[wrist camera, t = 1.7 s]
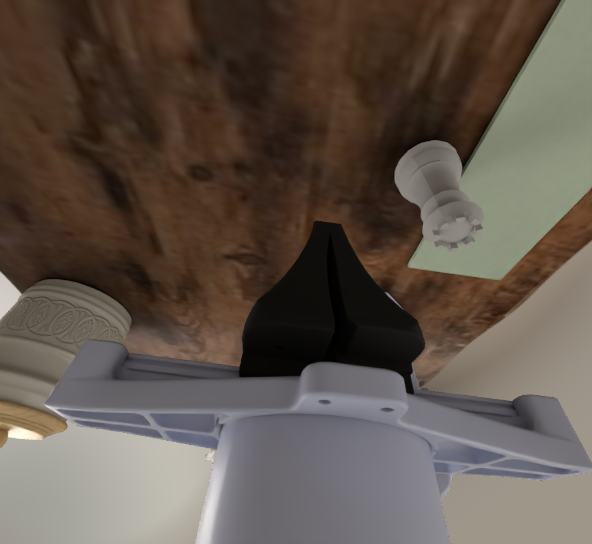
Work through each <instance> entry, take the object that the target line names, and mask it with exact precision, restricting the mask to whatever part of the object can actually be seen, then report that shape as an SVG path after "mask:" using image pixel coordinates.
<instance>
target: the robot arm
mask: <svg viewBox="0 0 592 544" xmlns="http://www.w3.org/2000/svg"><path fill="white" fill-rule="evenodd" d="M242 341H243V355H242V359H241V364H240V367H237V366H229V365H221V364H213V363H205V362H197V361H189V360H181V359H173V358H165V357H157V356H149V355H141V354H133V353H128V350H127V348H126V347H125V346H124V345H123V344H121V343H118V342H113V341H105V340H98V339H87V340H86V341H85V343H84V344H83V346H82V347H81V349H80V350H79V352H78V353H77V355H76V356H75V358H74V359H73V361H72V362H71V364H70V365H69V367H68V368H67V370H66V371H65V373H64V375H63V376H62V378H61V379H60V381H59V382H58V384H57V385H56V387H55V388H54V390H53V391H52V393H51V394H50V396H49V397H48V399H47V400H46V402H45V406H46V407H48V408H49V409H51V410H53V411H54V412H56V413H58V414H59V415H61V416H62V417H64V418H66V419H67V420H69V421H71V422H72V423H74V424H76V425H77V426H80V427H89V428H96V429H104V430H111V431H117V432H123V433H129V434H135V435H141V436H146V437H152V438H157V439H162V440H167V441H173V442H178V443H184V444H189V445H194V446H199V447H205V448H210V449H215V450H217V451H216V455H215V459H214V464H213V468H212V472H211V477H210V481H209V485H208V489H207V494H206V498H205V502H204V507H203V511H202V515H201V519H200V523H199V528H198V532H197V537H196V541H195V544H450V540H449V535H448V530H447V525H446V521H445V516H444V511H443V506H442V502H441V499H442V498H443V497H444V496H445V495H446V494H447V493H448V491H449V490H450V488H451V483H450V482H451V481H452V474H464V475H481V476H499V477H510V478H522V479H531V480H540V481H542V480H548V479H554V478H559V477H565V476H570V475H576V474H582V473H587V472H592V462H591V461H590V459H589V457H588V455H587V453H586V451H585V449H584V448H583V446H582V444H581V442H580V440H579V438H578V436H577V435H576V433H575V431H574V429H573V427H572V425H571V423H570V421H569V420H568V418H567V416H566V414H565V412H564V410H563V408H562V407H561V405H560V403H559V401H558V399H556V398H554V397H546V396H539V395H522V396H519V397H517V398H516V399H514V400H513V401H506V400H498V399H490V398H483V397H475V396H466V395H458V394H450V393H443V392H435V391H429V390H428V389H427V388H422V389H421V390H420V387H419V383H418V379H417V378H416V376H415V372H414V367H413V361H414V360H415V359H416V358H417V357H418V356H419V355H420V354H421V353H422V351H423V350H424V348H425V342H424V338H423V334H422V331H421V328H420V326H419V323H418V321H417V320H416V319H415V318H414V317H412V316H411V315H410V314H408V313H407V312H406V311H405V310H404V309H403V308H402V307H401V306H400V305H399V304H398V303H397V302H396V301H395V300H394V299H393V298H392V297H391V295H390V294H389V293H387V292H384V291H383V290H382V289H381V288H380V287H379V286H378V285H377V284H376V283H375V282H374V280H373V279H372V278H371V277H370V275H369V274H368V273H367V271H366V270H365V268H364V267H363V265H362V264H361V262H360V261H359V259H358V257H357V256H356V254H355V252H354V250H353V248H352V247H351V245H350V243H349V241H348V239H347V236H346V234H345V232H344V230H343V227H342V225H341V224H336V223H329V222H322V221H315V222H314V223H313V228H312V233H311V235H310V238H309V240H308V242H307V244H306V246H305V248H304V249H303V251H302V253H301V254H300V256H299V257H298V259H297V260H296V262H295V263H294V265H293V266H292V267H291V268H290V270H289V271H288V272H287V273H286V274H285V276H284V277H283V278H282V279H281V280H280V281H279V282H278V283H277V284H276V285H275V286H274V287H273V288H271V289H270V290H269V291H268V292H267V293H265V294H264V295H263V296H262V297H260V298H259V299H258V300H257V302H256V303H255V305H254V307H253V308H252V310H251V312H250V314H249V316H248V318H247V320H246V323H245V326H244V331H243V336H242Z"/></svg>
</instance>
